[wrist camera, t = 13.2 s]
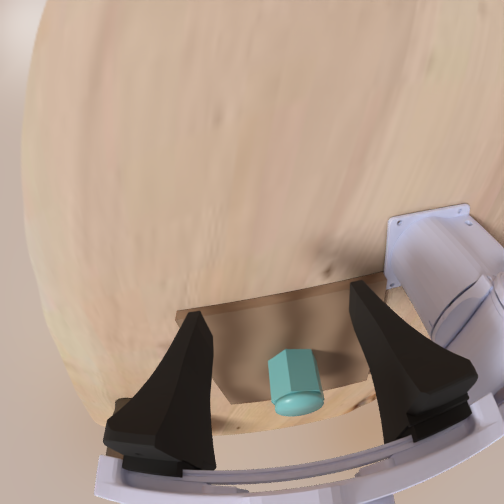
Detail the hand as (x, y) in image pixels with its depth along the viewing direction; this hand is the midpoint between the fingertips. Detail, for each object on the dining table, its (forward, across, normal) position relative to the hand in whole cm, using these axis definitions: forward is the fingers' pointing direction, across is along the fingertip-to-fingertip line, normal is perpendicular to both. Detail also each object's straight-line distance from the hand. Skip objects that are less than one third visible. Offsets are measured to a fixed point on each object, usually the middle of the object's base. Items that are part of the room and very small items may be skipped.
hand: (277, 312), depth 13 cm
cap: (+8, 0, +18) cm, 20 cm away
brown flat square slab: (+9, 0, +18) cm, 20 cm away
